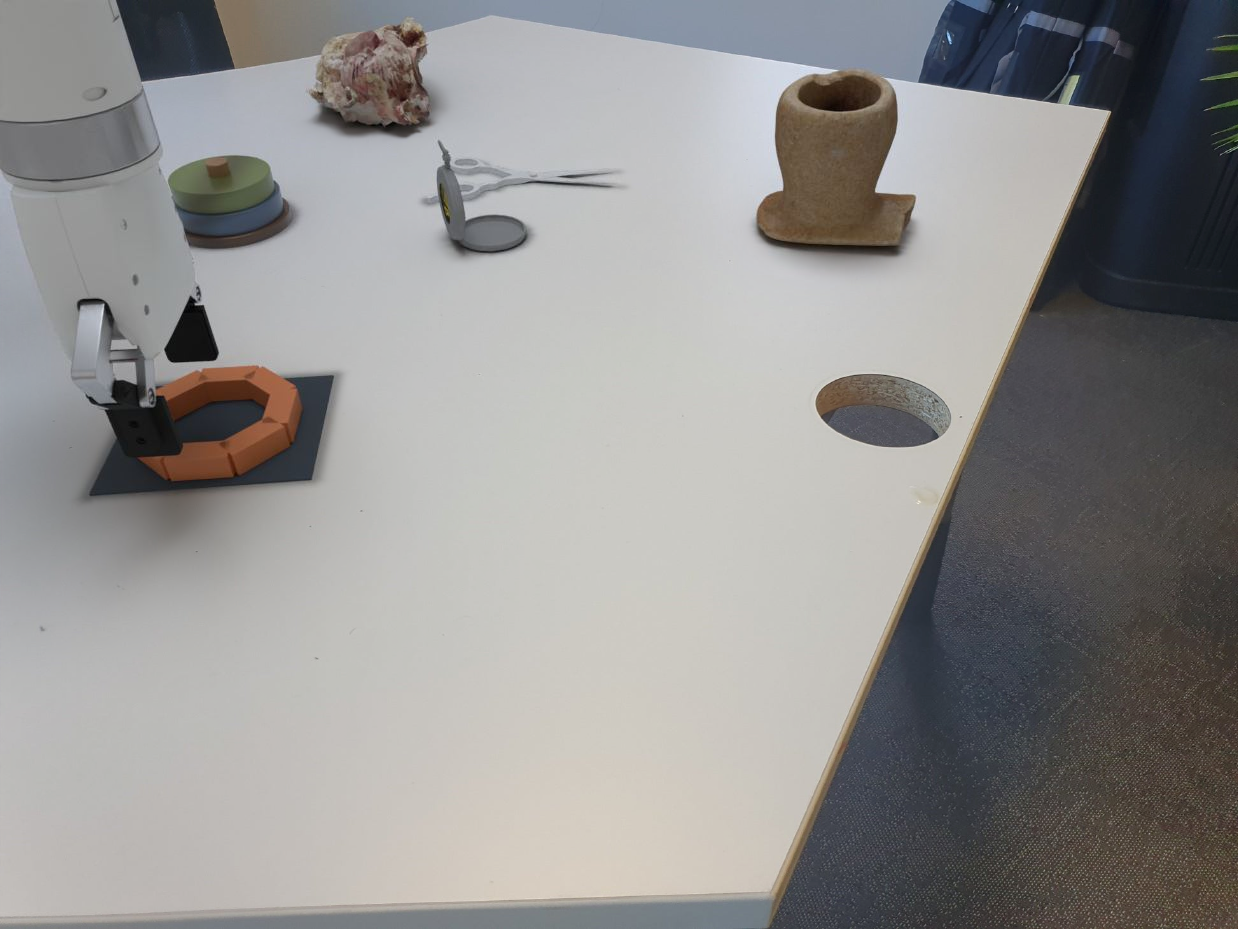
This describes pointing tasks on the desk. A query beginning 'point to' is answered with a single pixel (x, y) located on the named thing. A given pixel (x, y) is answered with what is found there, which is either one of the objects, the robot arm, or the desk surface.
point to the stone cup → (835, 163)
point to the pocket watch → (477, 230)
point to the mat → (218, 426)
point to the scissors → (509, 175)
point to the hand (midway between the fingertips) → (176, 403)
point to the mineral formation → (374, 75)
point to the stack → (228, 201)
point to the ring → (241, 447)
